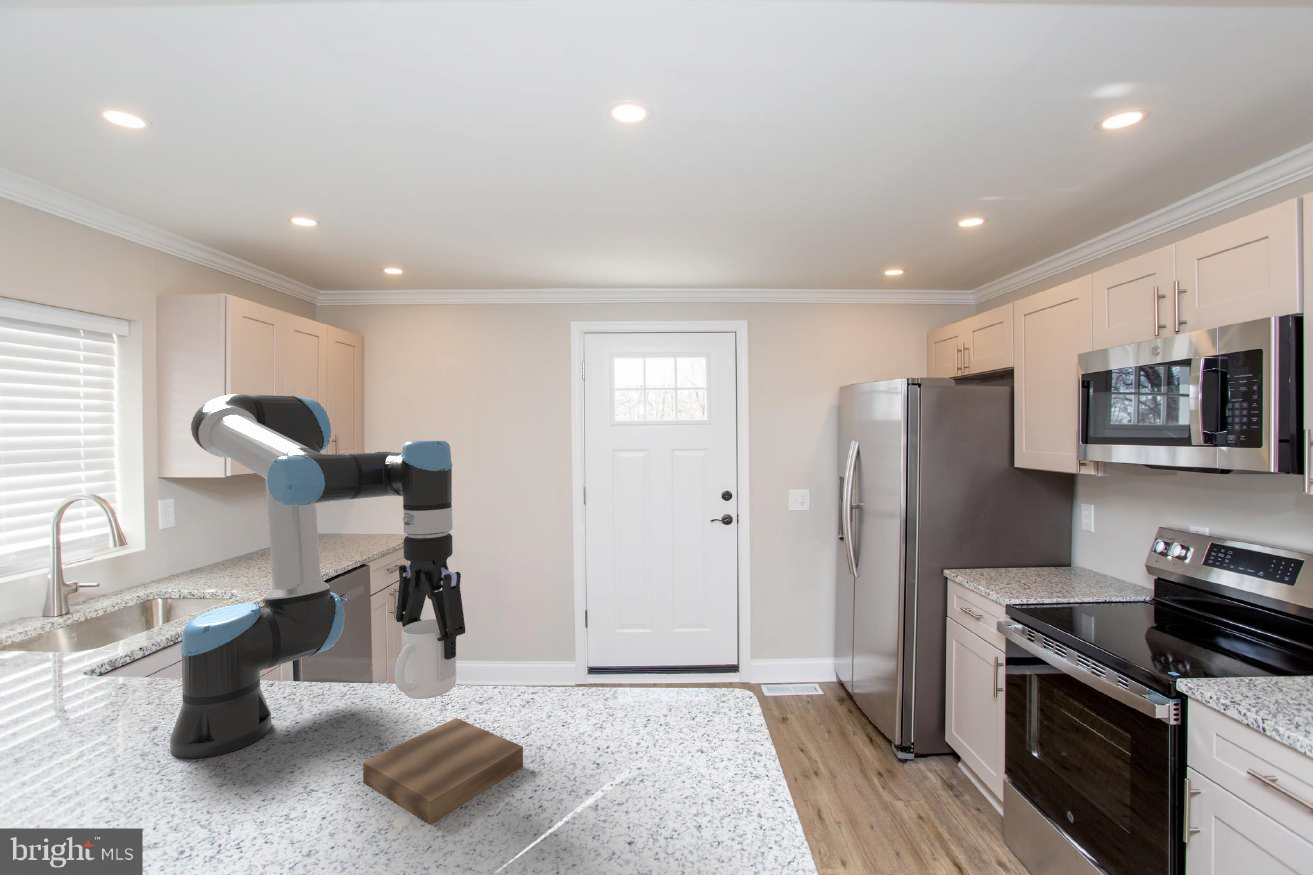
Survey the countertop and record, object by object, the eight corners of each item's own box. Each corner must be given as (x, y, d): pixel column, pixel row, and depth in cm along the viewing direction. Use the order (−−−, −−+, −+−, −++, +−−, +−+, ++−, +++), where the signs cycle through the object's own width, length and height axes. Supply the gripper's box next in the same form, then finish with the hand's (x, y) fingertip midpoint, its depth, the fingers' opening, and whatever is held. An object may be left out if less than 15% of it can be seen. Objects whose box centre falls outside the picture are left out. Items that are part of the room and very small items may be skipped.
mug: (419, 713, 88) (418, 645, 88) (373, 707, 90) (372, 640, 90) (466, 681, 99) (465, 620, 99) (425, 676, 102) (424, 616, 101)
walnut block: (363, 786, 95) (363, 762, 95) (456, 738, 110) (456, 717, 110) (430, 828, 85) (430, 801, 85) (523, 769, 100) (523, 746, 100)
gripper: (371, 531, 99) (373, 665, 99) (447, 543, 87) (449, 695, 87) (412, 526, 106) (413, 651, 106) (488, 536, 93) (490, 678, 93)
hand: (430, 671), depth 96 cm, fingers closed on mug, 8 cm apart
